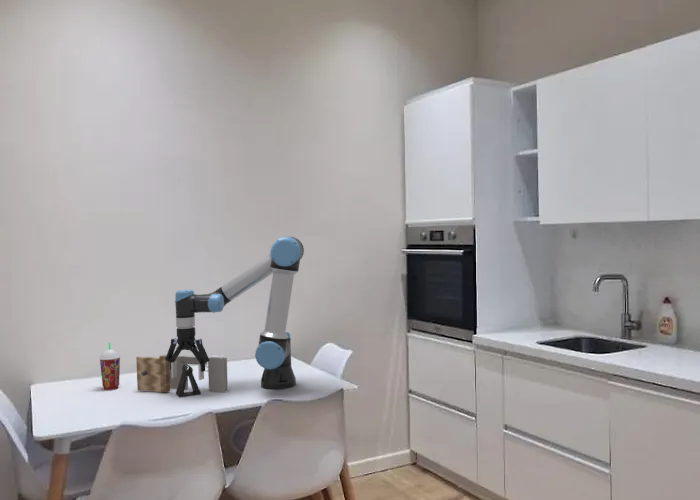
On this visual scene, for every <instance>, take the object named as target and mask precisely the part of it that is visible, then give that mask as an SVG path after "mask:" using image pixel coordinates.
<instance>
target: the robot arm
mask: <svg viewBox="0 0 700 500" xmlns="http://www.w3.org/2000/svg"><path fill="white" fill-rule="evenodd" d="M304 254H305V249H304V245H303V243H302V241H300V239H298V238H296V237H294V236H281V237H279V238H278V239H276V240H275V241H274V242H273V244H272V245H271V247H270V251H269V255H267V256H265V257H264V258H262V259H260V260H259V261H258V262H256V263H255V264H253V265H251V266H250V267H249V268H248V269H246V270H244V271H243V272H241V273H240V274H239V275H237V276H236V277H234V278H232V279H230V280H229V281H228V282H226V283H225V284H224V285H221V286H220V287H219V288H217V289H216V290H214V291H213V292H210V293H205V294H195V291H194V290H193V289H181V290H177V291H176V292H175V294H174V295H175V297H174V298H175V300H174V303H175V322H176V323H175V325H176V326H175V327H176V337H175V338H171V340H170V346H169V347H168V351H167V354H166V355H167V356H166V359H165V360H166V361H169V362H170V370H171V374H172V378H176V377H177V362H174V361H176V358H177V357H178V356H180V354H181V352H182V351H189V352H191V353H192V354H193V356H195V357H196V358H197V360H198V361H199V363H200V364H198V365H197V367H198V370H197V371H198V381H202V380H204V379H205V371H206V366H205V363H206V362H207V363H208V361H209V358H208V357H209V356H208V354H207V353H208V352H207V351H206V349H205V347H204V345H203V339H202V338H199V339H196V328H195V326H196V321H195V320H196V319H195V318H196V315H195V313H197V314H198V313H214V314H215V313H221V312H223V310H224V307H225V306H226V305H228V304H229V303H230V302H232V301H233V300H235V299H237V298H238V297H239V296H241V295H242V294H244V293H245V292H247V291H248V290H250V289H251V288H253V287H255V286H256V285H258V284H259V283H260V282H262V281H264V280H265V279H267V278H268V277H269V276H271V275H272V276H271V277H272V278H271V285H270V291H269V299H268V306H267V312H266V318H265V324H264V329H263V330H262V331H261V332H260V334H259V339H258V345H257V347H256V349H255V351H254V352H255V355H254V356H255V360H256V362H257V364H258V365H259V366H260V367H262V368H263V373H262V376H261V378H260V387H261V388H263V389H268V390H269V389H270V390H278V389H280V390H282V389H287V388H291V387H292V388H293V387H294V386H296V385H297V380H296V376H295V373H294V369H293V368H292V347H291V346H292V345H291V344H292V343H291V341H292V339H291V334H290V332H287V331H286V329H287V325H288V318H289V310H290V305H291V296H292V291H293V284H294V279H295V278H294V277H295V275H296V274H297V273H299V269H300V268H299V267H300V263H301V259H302V258H303V256H304Z"/></svg>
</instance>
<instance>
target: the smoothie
mask: <svg viewBox="0 0 700 500" xmlns="http://www.w3.org/2000/svg"><path fill="white" fill-rule="evenodd" d="M120 363H121V356H120V354H119V352H118V351H117V350H115V349H113V348H111V342H108V348H107V349H106V350H104V351H103V352H102V353H101V355H100V357H99V364H100V372H101V373H100V376H101V382H102V383H101V384H102V388H103V389H104V390H106V391H111V390H112V391H113V390H117V389H118V388H119V385H120V374H121V373H120V368H121V367H120V366H121V364H120Z"/></svg>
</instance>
